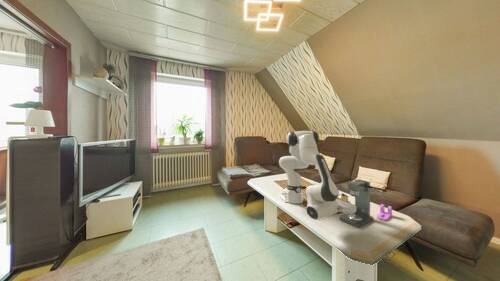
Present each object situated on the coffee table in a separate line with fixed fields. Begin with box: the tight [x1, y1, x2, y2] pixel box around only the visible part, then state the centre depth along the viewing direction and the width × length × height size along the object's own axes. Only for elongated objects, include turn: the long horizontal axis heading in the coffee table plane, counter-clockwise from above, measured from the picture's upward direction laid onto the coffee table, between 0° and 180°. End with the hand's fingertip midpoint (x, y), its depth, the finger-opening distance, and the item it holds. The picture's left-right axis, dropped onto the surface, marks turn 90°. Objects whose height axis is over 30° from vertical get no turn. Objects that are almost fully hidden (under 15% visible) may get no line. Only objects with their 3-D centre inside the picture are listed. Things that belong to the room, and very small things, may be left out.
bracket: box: [376, 203, 393, 222], centre depth 116 cm, size 13×6×7 cm, turn 126°
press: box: [339, 178, 387, 229], centre depth 109 cm, size 18×20×25 cm
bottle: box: [338, 192, 349, 202], centre depth 105 cm, size 5×5×10 cm
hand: (344, 201), depth 105 cm, fingers closed on bottle, 5 cm apart
